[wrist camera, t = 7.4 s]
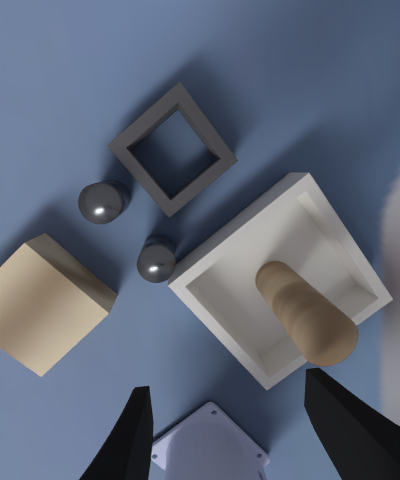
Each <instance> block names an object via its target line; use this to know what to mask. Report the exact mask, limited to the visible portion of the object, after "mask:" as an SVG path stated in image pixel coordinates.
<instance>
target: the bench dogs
mask: <svg viewBox="0 0 400 480" xmlns="http://www.w3.org/2000/svg"><path fill="white" fill-rule="evenodd" d="M129 203H130V195H129V192H128V190H127V189H126V187H125V186H123V185H122V184H121V183H119V182H116V181H107V182H101V183H95V184H91V185H88V186H87V187H85V188H84V189H83V190H82V192H81V193H80V195H79V199H78V205H79V209H80V211H81V213H82V215H83V216H84V217H85V218H86V219H87V220H89V221H90V222H92V223H95V224H106V223H109V222H111V221H113V220H114V219H115V218H117V217H118V216H119V215H120V214H122V213H123V212H124V211H125V210H126V209H127V208H128V206H129ZM137 269H138V272H139V274H140V275H141V276H142V277H143V278H144V279H145V280H147V281H149V282H152V283H160V282H164V281H166V280H167V279H169V278H170V277H171V276H172V274H173V273H174V270H175V245H174V242H173V241H172V240H171V239H170V238H169V237H168V236H166V235H162V234H156V235H153V236H151V237H149V238H148V239H147V240H146V242H145V244H144V246H143V248H142V251H141V253H140V255H139V258H138V261H137Z"/></svg>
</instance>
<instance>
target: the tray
mask: <svg viewBox="0 0 400 480" xmlns="http://www.w3.org/2000/svg"><path fill="white" fill-rule="evenodd" d="M271 261H280V262H283V263H285V264H287V265H288V266H289V267H290V268H291V269H293V270H294V271H295V272H296V273H297V274H298V275H300V276H301V277H302V278H303V279H304V280H305V281H307V282H308V283H309V284H310V285H311V286H312V287H314V288H315V289H316V290H317V291H318V292H320V293H321V294H322V295H323V296H324V297H325V298H327V299H328V300H329V301H330V302H331V303H332V304H334V305H335V306H336V307H337V308H338V309H340V310H341V311H342V312H343V313H344V314H345V315H347V316H348V317H349V318H350V319H351V320H352V321H353V322H354V323H355V325H356V326H357V325H358V324H360V323H361V322H363V321H364V320H365V319H367V318H368V317H370V316H371V315H372V314H374V313H375V312H376V311H378V310H379V309H381V308H382V307H383V306H385V305H386V304H387V303H389V302H390V301H392V300H393V298H392V297H391V295H390V294H389V292H388V291H387V289H386V288H385V286H384V285H383V283H382V282H381V280H380V279H379V277H378V276H377V274H376V273H375V271H374V270H373V268H372V267H371V265H370V264H369V262H368V261H367V259H366V258H365V256H364V255H363V253H362V252H361V250H360V249H359V247H358V246H357V244H356V243H355V241H354V240H353V238H352V237H351V235H350V234H349V232H348V230H347V229H346V227H345V226H344V224H343V223H342V221H341V220H340V218H339V217H338V215H337V214H336V212H335V211H334V209H333V208H332V206H331V205H330V203H329V202H328V200H327V199H326V197H325V196H324V194H323V193H322V191H321V190H320V188H319V187H318V185H317V184H316V182H315V181H314V179H313V178H312V176H311V175H310V173H302V172H290V173H288V174H287V175H286V176H285V177H283V178H282V179H281V180H280V181H278V182H277V183H276V184H275V185H274V186H272V187H271V188H270V189H269V190H267V191H266V192H265V193H264V194H262V195H261V196H260V197H259V198H257V199H256V200H255V201H254V202H252V203H251V204H250V205H249V206H248V207H246V208H245V209H244V210H243V211H241V212H240V213H239V214H238V215H236V216H235V217H234V218H233V219H231V220H230V221H229V222H228V223H226V224H225V225H224V226H223V227H222V228H220V229H219V230H218V231H217V232H215V233H214V234H213V235H212V236H210V237H209V238H208V239H207V240H205V241H204V242H203V243H202V244H200V245H199V246H198V247H197V248H195V249H194V250H193V251H192V252H191V253H189V254H188V255H187V256H186V257H184V258H183V259H182V260H181V261H179V262H178V263H177V264H176V265H175V270H174V273H173V274H172V276H171V277H170V278H169V280H168V286H169V287H170V288H171V289H172V290H173V291H174V292H175V293H176V295H177V296H178V297H179V298H180V299H181V300H182V301H183V302H184V303H185V304H186V305H187V306H188V307H189V308H190V309H191V311H192V312H193V313H194V314H195V315H196V316H197V317H198V318H199V319H200V320H201V321H202V322H203V323H204V324H205V325H206V326H207V328H208V329H209V330H210V331H211V332H212V333H213V334H214V335H215V336H216V337H217V338H218V339H219V340H220V341H221V342H222V344H223V345H224V346H225V347H226V348H227V349H228V350H229V351H230V352H231V353H232V354H233V355H234V356H235V357H236V358H237V360H238V361H239V362H240V363H241V364H242V365H243V366H244V367H245V368H246V369H247V370H248V371H249V372H250V373H251V374H252V375H253V377H254V378H255V379H256V380H257V381H258V382H259V383H260V384H261V385H262V386H263V387H264V388H265V389H266V390H269V389H270V388H271V387H273V386H274V385H276V384H277V383H278V382H280V381H281V380H282V379H284V378H285V377H287V376H288V375H289V374H291V373H292V372H294V371H295V370H296V369H298V368H299V367H300V366H302V365H303V364H305V363H306V362H307V360H306V359H305V357H304V356H303V354H302V353H301V351H300V350H299V349H298V347H297V346H296V344H295V343H294V341H293V340H292V338H291V337H290V335H289V334H288V333H287V331H286V330H285V328H284V327H283V325H282V324H281V322H280V321H279V319H278V318H277V317H276V315H275V314H274V312H273V311H272V309H271V308H270V306H269V305H268V303H267V302H266V301H265V299H264V298H263V296H262V295H261V293H260V292H259V290H258V289H257V287H256V283H255V278H256V274H257V272H258V270H259V269H260V268H261V267H262V266H263V265H264V264H266V263H268V262H271Z"/></svg>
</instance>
